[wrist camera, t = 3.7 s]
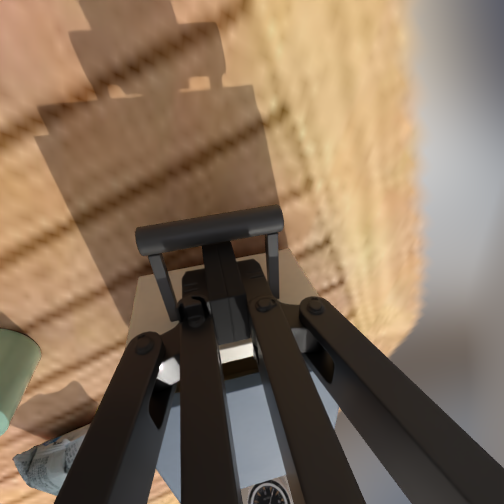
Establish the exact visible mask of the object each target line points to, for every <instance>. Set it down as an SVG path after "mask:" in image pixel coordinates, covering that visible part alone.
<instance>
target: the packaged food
mask: <svg viewBox="0 0 504 504" xmlns="http://www.w3.org/2000/svg"><path fill="white" fill-rule="evenodd" d="M89 427H90V424H88V425H86V426H84V427H81V428H79V429H76V430H74V431H71V432H69V433H67V434H65V435H62V436H59V437H57V438H54V439H51V440H48V441H46V442H44V443H42V444H40V445H36V446H34V447H33V448H31V449H30V450H28V451H25V452H23V453H21V454H17V455H16V456H15V457H13V461H14V462H15V465H16V467H17V469H18V471H19V473H20V475H21V476H22V478H23V480H24V481H25V482H26V484H27V485H28V486H29V487H32V488H35V489H38V490H41V491H44V492H47V493H50V494H53V495H56V496H57V495H58V493H59V491H60V489H61V487H62V485H63V482H64V480H65V478H66V476H67V474H68V472H69V470H70V467H71V465H72V463H73V461H74V459H75V457H76V454H77V452H78V450H79V448H80V446H81V444H82V442H83V439H84V437H85V435H86V433H87V431H88V429H89Z"/></svg>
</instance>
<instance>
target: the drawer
mask: <svg viewBox="0 0 504 504" xmlns="http://www.w3.org/2000/svg"><path fill="white" fill-rule="evenodd" d="M283 228H284V219H283V213H282V210H281V208H280V206H279V205H277V204H276V205H270V206H264V207H258V208H252V209H246V210H240V211H234V212H228V213H222V214H216V215H210V216H203V217H197V218H191V219H185V220H179V221H173V222H167V223H161V224H155V225H149V226H143V227H138V228H136V231H135V238H136V244H137V247H138V250H139V252H140V254H141V255H142V256H148V259H149V261H150V264H151V267H152V270H153V273H154V274H151V275H146V276H140V277H138V283H137V288H136V293H135V299H134V304H133V309H132V315H131V320H130V325H129V331H128V336H127V341H126V347H127V345H128V344H129V342H130V341H131V340H132V339H133V338H134V337H135V336H137V335H139V334H141V333H143V332H148V331H152V332H157V333H158V334H160V335H161V334H163V333H165V332H167V331H169V330H171V329H173V328H174V327H175V326H176V325H177V324H178V323H179V320H178V317H177V314H176V310H175V307H176V304H177V302H178V301H179V300H180V299H182V277H183V275H184V274H185V272H186V271H191V270H197V269H202V268H204V265H199V266H193V267H188V268H183V269H177V270H172V271H167V268H166V264H165V261H164V258H163V255H162V253H164V252H170V251H176V250H181V249H187V248H192V247H198V246H203V245H209V244H215V243H220V242H226V241H231V240H237V239H242V238H248V237H254V236H259V235H265V249H266V253H262V254H257V255H251V256H246V257H241V258H236V262H237V261H242V260H248V259H255V260H256V261H257V262H258V263H260V266H261V268H262V271H263V273H264V275H265V277H266V280H267V282H268V285H269V287H270V289H271V292H272V294H273V296H274V297H275V298H277V300H278V301H280V302H282V303H285V304H293V305H299V304H300V302H301V301H302V300H303V299H305V298H307V297H311V296H316V297H319V295H318V294H317V292H316V290H315V289H314V287H313V286H312V284H311V282H310V281H309V279H308V278H307V276H306V274H305V273H304V271H303V270H302V268H301V266H300V265H299V263H298V262H297V260H296V258H295V257H294V255H293V253H292V252H291V250H290V249H289V248H288V249H283V250H278V232H281V231H282V230H283ZM126 347H125V349H126ZM219 351H220V356H221V362H222V369H223V375H224V381H225V380H229V379H233V378H237V377H241V376H245V375H249V374H253V373H257V372H259V369H258V366H257V362H256V359H254V353H253V343H252V338H250V339H245V340H241V341H236V342H232V343H228V344H223V345H219ZM304 361H305V360H304ZM178 392H180V381H178V382H177V386H176V390H175V393H178Z"/></svg>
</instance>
